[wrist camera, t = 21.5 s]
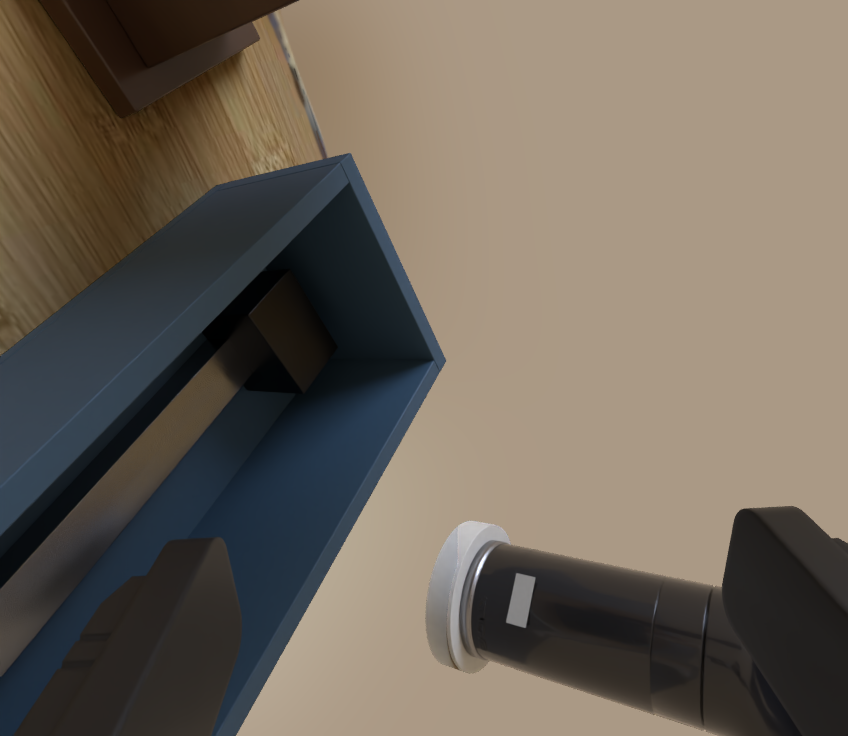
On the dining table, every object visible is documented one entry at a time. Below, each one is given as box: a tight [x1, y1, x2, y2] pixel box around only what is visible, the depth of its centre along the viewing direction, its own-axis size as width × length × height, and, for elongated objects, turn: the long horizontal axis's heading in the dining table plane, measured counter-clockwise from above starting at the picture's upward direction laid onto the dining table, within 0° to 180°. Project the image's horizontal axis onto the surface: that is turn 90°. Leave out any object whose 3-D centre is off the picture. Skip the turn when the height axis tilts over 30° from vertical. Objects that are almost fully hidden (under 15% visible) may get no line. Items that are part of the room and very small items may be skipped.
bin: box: [0, 153, 446, 736], centre depth 20 cm, size 21×11×8 cm, turn 132°
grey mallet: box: [0, 269, 338, 678], centre depth 21 cm, size 16×4×4 cm, turn 133°
